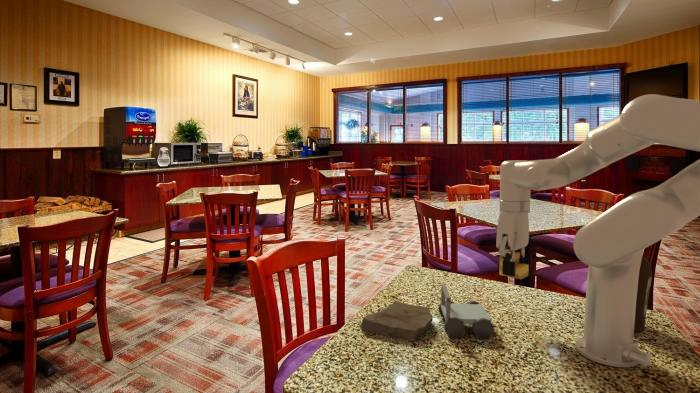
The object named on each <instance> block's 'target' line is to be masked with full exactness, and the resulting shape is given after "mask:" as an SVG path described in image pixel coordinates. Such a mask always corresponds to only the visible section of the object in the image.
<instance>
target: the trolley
mask: <svg viewBox="0 0 700 393" xmlns="http://www.w3.org/2000/svg"><path fill="white" fill-rule="evenodd" d="M451 298H452V297H451V295H450V293H449V290H448V288H447V286H446V284H445V283H441V285H440V304H438V313H439V315H440V317H442V319H444V320H445V322H444V324H443V328H444V331H445V334H446V336H448V337H449V338H451V339H459V338H461V337H463V335H464V334H465V332H466V325H465V324H470V325H471V324H472V331H473V333H474V336H476V337H477V338H478V339H481V340H487V339H490V338H491V337H492V336H494V333H495V327H494V325H493V323H492V319H491V317H490V316H489V314H488V312H487V311H486V309H485V308H484V306H483V304H482V303H480V302H478V301H476V300H470V301H467V303H454V302H453V301H452V299H451Z"/></svg>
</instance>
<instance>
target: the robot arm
mask: <svg viewBox="0 0 700 393" xmlns="http://www.w3.org/2000/svg"><path fill="white" fill-rule="evenodd" d="M654 144H660V145H664V146H669V147H675V148H679V149H683V150H690V151H696V152H700V100H698V99H689V98H682V97H681V98H680V97H675V96H674V97H673V96H668V95H661V94H657V93H656V94H651V93H649V94H644V95H640V96H638V97H636V98H634V99H632V100H631V101H629V102H628V103H627V104H626V105H625V106H624V108H622V111H621V113H620V114H619V115H618V116H615V117H614V118H612V119H610V120H608V121H606V122H605V123H602V124H600V125H598V126H596V127H595V128H593V129H590V130H589V131H588V133H587V134H586V137H585V139H584V141H583V142H582V143H581V144H579V145H578V146H576V147H575V148H574V149H571V150H569V151H567V152H565V153H564V154H562V155H559V156H557V157H555V158H549V159H548V158H546V159H534V160H529V161H528V160H520V159H519V160H504V161H503V162H501V164H500V168H499V169H500V171H499V172H500V173H499V215H498V220H497V229H496V240H495V241H496V243H495V244H496V248H497V249H498V253H499V255H500V254H501V256H502V260H503V272H502V273H503V275H507V276H512V277H514V276H515V262H513V261H514V255H515V252H520V262H519V263H522V264H525V257H526V256H525V255H526V254H525V252H526V247H527V246H528V244H529V240H530V221H529V220H530V219H529V214H530V213H531V190H533V191H546V190H550V189H551V190H552V189H558V188H561V187H565V186H567V185H569V184H571V183H574V182H576V181H578V180H581V179H583V178H585V177H587V176H589V175H592V174H594V173H595V172H597V171H600V170H601V169H604V168H606V167H608V166H609V165H611V164H613V163H615V162H617V161H620V160H622V159H624V158H626V157H628V156H630V155H633V154H634V153H636V152H639V151H641V150H643V149H645V148H648V147H651V146H652V145H654ZM698 217H700V158H699V159H698V160H695V161H694V162H693V163H691V164H690V165H688V166H686V167H685V168H683V169H681V171H678V173H677V174H675V175H674V176H672V177H670V178H669V179H666V181H664V182H662V183H660V184H659V185H657V186H655V187H652V188H649V189H646V190H645V189H644V190H640V191H637V192H634V193H632V194H630V195H628V196H627V197H625V198H623V199H621V200H620V201H619V202H617V203H615V204H614V205H613V206H611V207H609V208H608V209H607V210H605V211H604V212H602V213H600V215H598V216H596V217H595V218H593V219H592V220H590V221H588V222H587V223H586V224H584V225H583V226H582V227H580V229H578V231H577V232H576V234H575V236H574V239H573V242H572V243H573V244H572V245H573V251H574V253H575V254H574V255H576V257H577V258H578V260H580V261H581V262H582V263H583V264H585V265H587V266H588V269H587V278H586V280H587V281H586V292H585V293H586V294H585V305H584V322H583V323H584V324H583V335H582V336H581V337H579V338H577V339H576V340H575V345H574V346H575V349H576V351H577V353H579V354H580V355H582V356H583V357H585V358H586V359H588V360H590V361H592V362H596V363H598V364H601V365H604V366H608V367H614V368H631V367H635V366H638V365H641V366H643V367H645V368H646V367H648V366H649V365H650V362H651V361H650V360H651V354H650V353H647V352H645V351H643V350H641V349H640V348H639V341H638V340H635V339H634V335H635V333H634V323H635V310H636V298H637V289H638V278H639V270H640V265H641V260H642V255H643V256H644V250H645V249H646V248H649V247H650V246H652V245H654V244H655V243H657V242H659V241H661V240H662V239H665V238H666V237H668V236H670V235H673V234H675V233H676V232H678V231H680V230H681V229H682V228H683V227H684V226H686V225H687V224H689V223H691V221H693V220H695V219H697V218H698ZM507 252H511V255H510V254H509V253H507ZM503 275H502V276H503ZM507 276H506V277H507ZM512 277H511V278H512Z"/></svg>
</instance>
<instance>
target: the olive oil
mask: <svg viewBox="0 0 700 393" xmlns="http://www.w3.org/2000/svg"><path fill="white" fill-rule="evenodd" d="M652 270H653V269H652V266H651V263H650V261H649V260H648V259H647V258H646V256H644V254H643V255H642V260H641V265H640V270H639V278H638V289H637V298H636V310H635V323H634V334H637V333H639V334H640V333H642V332H643V331H645V327H646V326H645V325H646V317H647V313H648V312H647V310H648V302H649V297H650V288H651V283H652V276H653V271H652Z"/></svg>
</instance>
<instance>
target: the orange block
mask: <svg viewBox="0 0 700 393" xmlns="http://www.w3.org/2000/svg"><path fill="white" fill-rule="evenodd" d="M507 253H509V254H510V255H511V252H507ZM513 262H515V276H514V277H512V276H507V275H503V273H502V272H503V260H502V256H501V254H500V253H499V269H498V271H499V272H498V273H499V276H505V277H508V278H513V279H517V280H522V279H525V278H526V277H528V276H529V274H530V273H529V266H530V265H529V264H527V263H524V264H522V263H519V262H520V252H515V255H514V261H513Z"/></svg>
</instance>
